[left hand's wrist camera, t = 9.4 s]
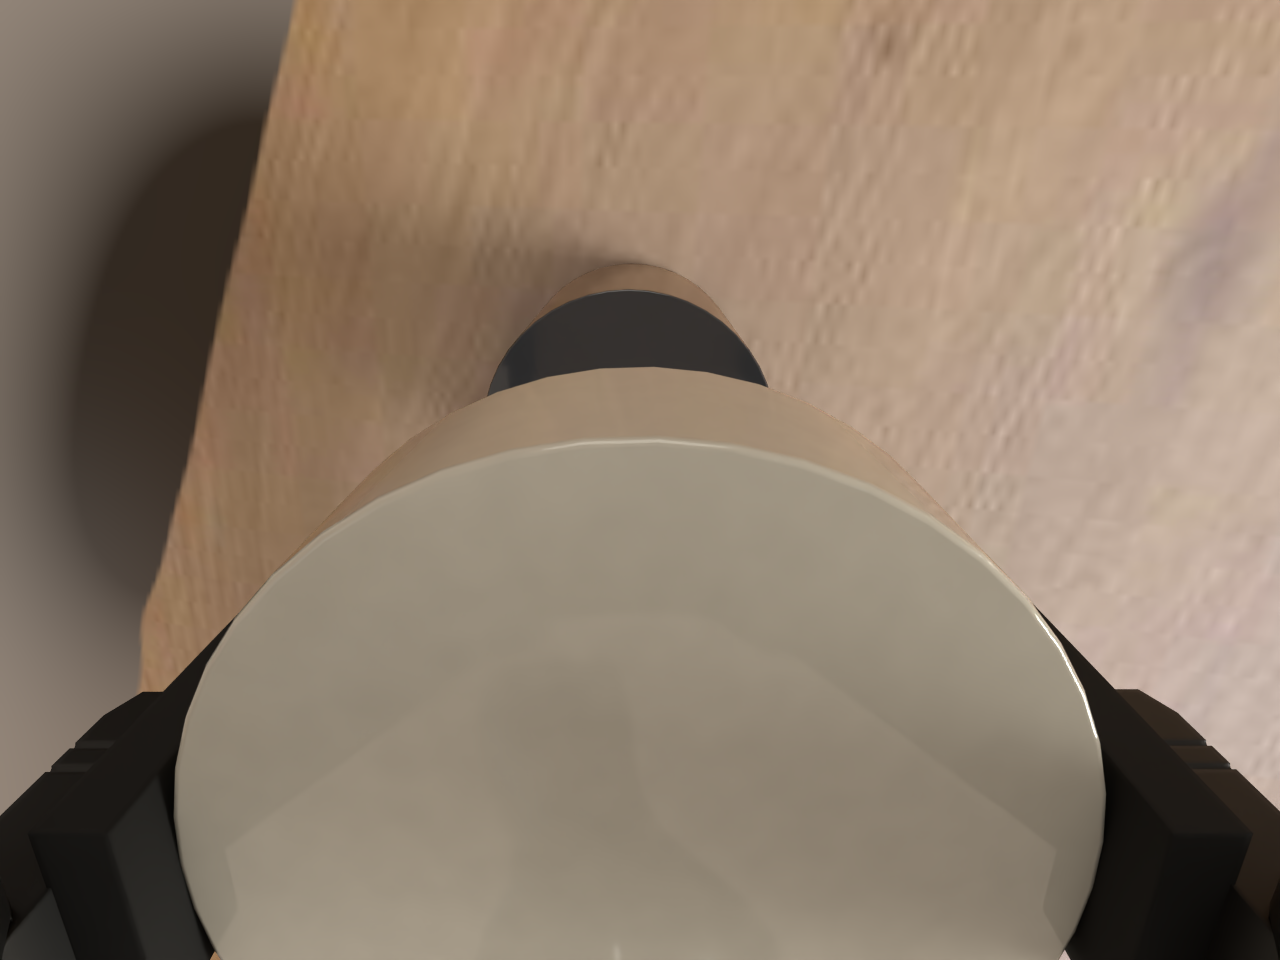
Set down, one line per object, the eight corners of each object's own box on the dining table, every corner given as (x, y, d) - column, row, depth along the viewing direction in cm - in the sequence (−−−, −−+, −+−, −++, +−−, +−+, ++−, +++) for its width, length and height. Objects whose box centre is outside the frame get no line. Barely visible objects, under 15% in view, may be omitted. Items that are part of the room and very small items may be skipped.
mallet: (517, 263, 31) (471, 289, 22) (744, 263, 31) (784, 288, 22) (544, 756, 39) (518, 911, 30) (722, 755, 39) (746, 910, 30)
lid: (499, 201, 9) (434, 204, 6) (1138, 609, 11) (1318, 757, 8) (187, 793, 12) (45, 981, 9) (730, 1033, 14) (753, 1252, 11)
